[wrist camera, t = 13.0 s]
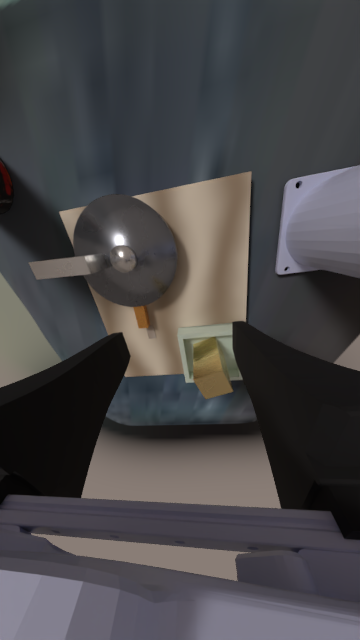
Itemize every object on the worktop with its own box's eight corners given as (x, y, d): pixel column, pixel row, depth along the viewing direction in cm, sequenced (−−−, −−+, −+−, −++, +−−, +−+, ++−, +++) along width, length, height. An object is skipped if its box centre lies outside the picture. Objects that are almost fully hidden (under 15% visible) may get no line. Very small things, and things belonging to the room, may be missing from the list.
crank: (47, 209, 15) (-4, 198, 11) (171, 190, 14) (162, 170, 10) (94, 327, 21) (71, 348, 17) (184, 321, 20) (182, 343, 16)
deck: (248, 174, 14) (251, 170, 13) (242, 366, 24) (244, 370, 23) (64, 213, 16) (58, 211, 16) (127, 373, 26) (125, 377, 25)
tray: (241, 321, 20) (245, 329, 18) (240, 369, 23) (243, 379, 21) (178, 327, 21) (177, 335, 19) (186, 372, 24) (185, 382, 22)
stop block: (214, 336, 20) (222, 370, 15) (223, 353, 21) (233, 391, 16) (193, 344, 21) (193, 380, 16) (202, 360, 22) (205, 399, 17)
